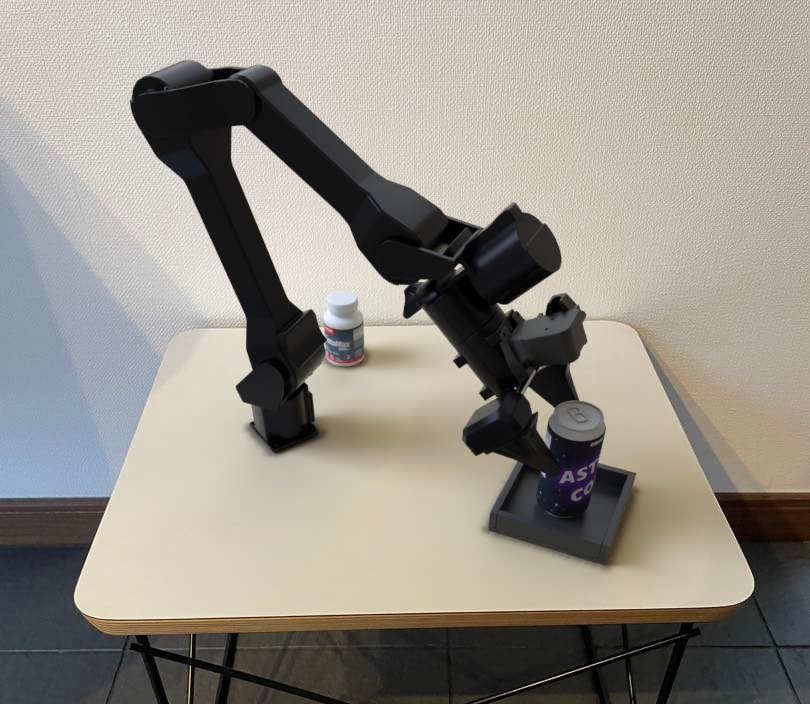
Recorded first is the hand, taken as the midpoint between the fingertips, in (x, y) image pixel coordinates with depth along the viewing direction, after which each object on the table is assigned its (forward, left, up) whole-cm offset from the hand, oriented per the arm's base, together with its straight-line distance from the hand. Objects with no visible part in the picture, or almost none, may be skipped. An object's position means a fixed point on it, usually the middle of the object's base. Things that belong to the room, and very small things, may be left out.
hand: (570, 447), depth 78 cm
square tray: (0, 0, -8) cm, 8 cm away
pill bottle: (-3, +40, -9) cm, 41 cm away
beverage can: (0, 0, -8) cm, 8 cm away
